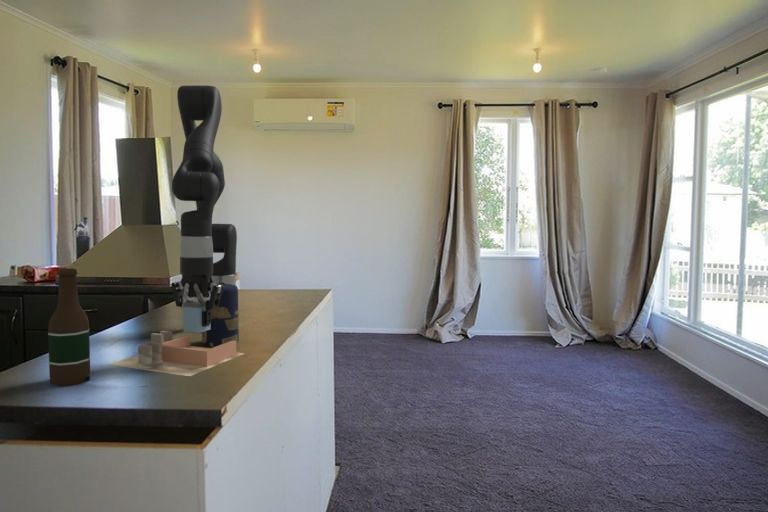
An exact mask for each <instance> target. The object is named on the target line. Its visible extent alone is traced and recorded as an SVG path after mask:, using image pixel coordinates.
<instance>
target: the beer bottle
mask: <svg viewBox="0 0 768 512" xmlns="http://www.w3.org/2000/svg"><path fill="white" fill-rule="evenodd" d="M56 275H57V276H58V292H57V293H58V297H57V304H56V305H57V306H56V309H55V311H54V312H53V314H52V315H51V317H50V320H49V322H48V327H47V328H48V329H47V330H48V331H47V338H48V339H47V340H48V341H47V342H48V365H49V366H48V367H49V369H48V370H49V382H50V383H49V384H50V385H51V386H55V385H56V386H57V387H67V386H75V385H76V386H77V385H80V384H82V383H86V382H88V381H89V380H90V374H91V350H90V349H91V348H90V345H91V344H90V341H91V340H90V322H89V318H88V316H87V313H86V311H85V310H84V309H83V308H82V306H81V305H80V300H79V293H78V283H77V275H78V271H77V268H60V269H58V270H57V274H56Z"/></svg>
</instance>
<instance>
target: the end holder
mask: <svg viewBox="0 0 768 512" xmlns="http://www.w3.org/2000/svg"><path fill="white" fill-rule="evenodd" d="M239 353H240V352H239V351H237V344H236V341H230V342H227V343H224V344H222V345H219V346H216V347H203V346H201V347H200V346H194V345H191V335H187V334H186V335H184V336H180V337H177V338H174V339H173V338H172V340H170V341H167V342H163V343H162V361H166V362H174V363H181V364H189V365H196V366H204V367H208V366H211V365H213V364H216V363H218V362H221V361H223V360H226V359H228V358H230V357H233V356H235V355H238V354H239Z"/></svg>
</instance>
